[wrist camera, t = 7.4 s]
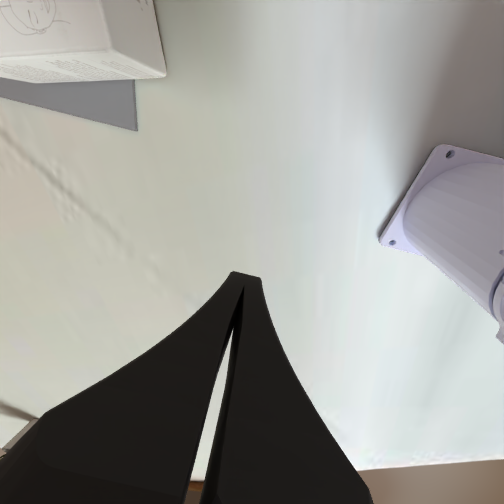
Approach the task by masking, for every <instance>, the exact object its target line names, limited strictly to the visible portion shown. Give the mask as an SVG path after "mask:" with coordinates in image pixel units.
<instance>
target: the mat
mask: <svg viewBox="0 0 504 504" xmlns="http://www.w3.org/2000/svg"><path fill="white" fill-rule="evenodd" d="M0 97H2V98H6V99H10V100H14V101H18V102H22V103H26V104H30V105H34V106H38V107H42V108H46V109H50V110H54V111H58V112H62V113H65V114H69V115H73V116H77V117H81V118H85V119H89V120H93V121H97V122H101V123H105V124H109V125H113V126H117V127H121V128H125V129H128V130H132V131H138V129H137V114H136V98H135V83H134V79H126V80H102V81H80V82H57V83H30V82H25V81H19V80H14V79H8V78H2V77H0Z"/></svg>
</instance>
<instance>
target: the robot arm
mask: <svg viewBox="0 0 504 504" xmlns="http://www.w3.org/2000/svg"><path fill="white" fill-rule="evenodd" d="M448 151H451V154H450V156H449V157H447V158H446V154H447V153H448ZM391 240H394V241H393V242H392V243H389V242H390V241H391ZM379 243H380V244H381V245H382V246H385V247H389V248H393V249H397V250H401V251H405V252H409V253H413V254H417V255H421V256H424V257H425V258H427V259H428V260H429V261H430V262H431V263H432V264H433V265H435V266H436V267H437V268H438V269H439V270H440V271H441V272H442V273H444V274H445V275H446V276H447V277H448V278H449V279H450V280H451V281H453V282H454V283H455V284H456V285H457V286H458V287H459V288H460V289H462V290H463V291H464V292H465V293H466V294H467V295H468V296H470V297H471V298H472V299H473V300H474V301H475V302H476V303H477V304H479V305H480V306H481V307H482V308H483V309H484V310H485V311H486V312H488V313H489V314H490V315H491V316H492V317H493V318H494V319H496V320H497V321H498V322H499V325H500V328H499V331H498V333H497V335H496V338H497V339H498V340H499V341H500V342H501V343H503V344H504V159H503V158H499V157H495V156H491V155H487V154H483V153H479V152H476V151H472V150H468V149H464V148H460V147H456V146H452V145H448V144H441V145H438V146H437V147H435V148H434V150H433V151H432V153H431V154H430V156H429V158H428V159H427V161H426V163H425V164H424V166H423V167H422V169H421V171H420V172H419V174H418V176H417V177H416V179H415V181H414V182H413V184H412V186H411V187H410V189H409V190H408V192H407V194H406V195H405V197H404V199H403V200H402V202H401V204H400V205H399V207H398V208H397V210H396V212H395V213H394V215H393V217H392V218H391V220H390V222H389V223H388V225H387V227H386V228H385V230H384V231H383V233H382V235H381V236H380V238H379ZM232 330H233V335H232V342H231V349H230V356H229V364H228V371H227V378H226V384H225V390H224V394H223V399H222V403H221V408H220V413H219V417H218V422H217V426H216V431H215V435H214V440H213V444H212V449H211V453H210V458H209V462H208V467H207V471H206V476H205V480H204V485H203V489H202V494H201V499H200V503H199V504H374V503H373V500H372V497H371V494H370V491H369V489H368V487H367V485H366V484H365V482H364V481H363V480H362V478H361V477H360V475H359V474H358V473H357V471H356V470H355V468H354V467H353V465H352V464H351V463H350V461H349V460H348V458H347V457H346V455H345V454H344V452H343V451H342V449H341V448H340V446H339V445H338V443H337V442H336V440H335V439H334V438H333V436H332V434H331V433H330V431H329V430H328V428H327V427H326V425H325V423H324V422H323V420H322V419H321V417H320V416H319V414H318V412H317V411H316V409H315V407H314V406H313V404H312V402H311V400H310V399H309V397H308V395H307V394H306V392H305V390H304V388H303V387H302V385H301V383H300V381H299V380H298V378H297V376H296V374H295V372H294V370H293V368H292V366H291V364H290V362H289V360H288V358H287V356H286V354H285V352H284V350H283V348H282V345H281V343H280V341H279V338H278V336H277V333H276V331H275V328H274V326H273V323H272V320H271V317H270V314H269V311H268V308H267V304H266V301H265V297H264V292H263V288H262V280H261V279H260V278H259V277H255V276H251V275H247V274H243V273H239V272H235V271H233V272H231V273H230V274H229V276H228V278H227V279H226V280H225V282H224V283H223V284H222V285H221V287H220V288H219V289H218V290H217V291H216V292H215V294H214V295H213V296H212V297H211V298H210V299H209V300H208V301H207V302H206V303H205V304H204V305H203V306H202V307H201V308H200V309H199V310H198V311H197V312H196V313H195V314H194V315H193V316H191V317H190V318H189V319H188V320H187V321H186V322H184V323H183V324H182V325H181V326H180V327H178V328H177V329H176V330H175V331H174V332H172V333H171V334H170V335H168V336H167V337H166V338H164V339H163V340H162V341H160V342H159V343H158V344H156V345H155V346H153V347H152V348H151V349H149V350H148V351H146V352H145V353H143V354H142V355H140V356H139V357H137V358H136V359H134V360H133V361H131V362H130V363H128V364H127V365H125V366H123V367H122V368H120V369H119V370H117V371H116V372H114V373H113V374H111V375H109V376H108V377H106V378H104V379H103V380H101V381H99V382H98V383H96V384H94V385H92V386H91V387H89V388H87V389H85V390H84V391H82V392H80V393H78V394H77V395H75V396H73V397H71V398H70V399H68V400H66V401H64V402H63V403H61V404H59V405H57V406H56V407H54V408H52V409H50V410H49V411H47V412H46V413H44V414H43V415H42V417H41V418H40V419H39V420H38V421H37V422H36V423H35V424H34V425H33V426H32V427H31V428H30V429H29V430H28V431H27V432H26V433H25V434H24V435H23V436H22V437H21V438H20V439H19V440H18V441H17V442H16V443H15V444H14V445H13V446H12V447H11V449H10V450H9V451H8V452H7V453H6V454H5V456H4V457H3V458H2V459H1V460H0V504H184V502H185V498H186V494H187V490H188V486H189V482H190V478H191V474H192V470H193V466H194V463H195V459H196V455H197V451H198V447H199V443H200V439H201V435H202V431H203V427H204V423H205V419H206V415H207V411H208V407H209V403H210V399H211V395H212V392H213V388H214V384H215V381H216V378H217V374H218V371H219V368H220V365H221V363H222V360H223V357H224V354H225V351H226V348H227V345H228V342H229V339H230V336H231V333H232Z"/></svg>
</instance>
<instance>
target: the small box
mask: <svg viewBox="0 0 504 504" xmlns="http://www.w3.org/2000/svg"><path fill="white" fill-rule="evenodd" d="M166 75H167V72H166V66H165V60H164V56H163V52H162V47H161V42H160V36H159V31H158V26H157V21H156V16H155V11H154V6H153V0H0V77H2V78H8V79H14V80H19V81H25V82H30V83H57V82H80V81H102V80H126V79H147V78H163V77H165V76H166Z"/></svg>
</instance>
